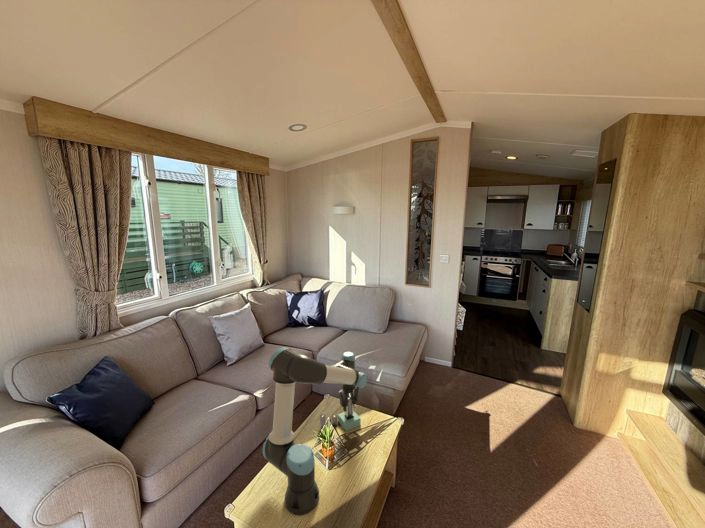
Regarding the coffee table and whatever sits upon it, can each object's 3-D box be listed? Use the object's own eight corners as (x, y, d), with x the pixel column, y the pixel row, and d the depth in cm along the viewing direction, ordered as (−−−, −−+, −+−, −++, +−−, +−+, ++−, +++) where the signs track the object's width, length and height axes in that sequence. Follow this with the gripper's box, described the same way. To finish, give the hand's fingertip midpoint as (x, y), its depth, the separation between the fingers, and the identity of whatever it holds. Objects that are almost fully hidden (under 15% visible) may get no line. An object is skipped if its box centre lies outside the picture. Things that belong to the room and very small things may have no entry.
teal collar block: (345, 431, 175) (345, 424, 175) (337, 420, 184) (337, 414, 183) (360, 424, 180) (360, 418, 180) (352, 415, 189) (352, 408, 188)
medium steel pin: (321, 432, 175) (321, 418, 173) (319, 429, 177) (318, 415, 176) (326, 430, 176) (326, 416, 175) (324, 427, 179) (323, 413, 177)
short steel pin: (333, 426, 179) (332, 418, 179) (330, 423, 182) (330, 415, 181) (337, 424, 181) (337, 416, 180) (335, 421, 184) (335, 413, 183)
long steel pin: (348, 423, 180) (347, 401, 177) (345, 420, 182) (345, 398, 180) (352, 421, 181) (352, 399, 179) (350, 418, 184) (349, 396, 181)
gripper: (339, 385, 170) (340, 422, 174) (363, 377, 178) (363, 413, 182) (333, 379, 176) (334, 415, 180) (357, 371, 184) (357, 406, 188)
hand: (349, 414), depth 181 cm, fingers closed on long steel pin, 3 cm apart
